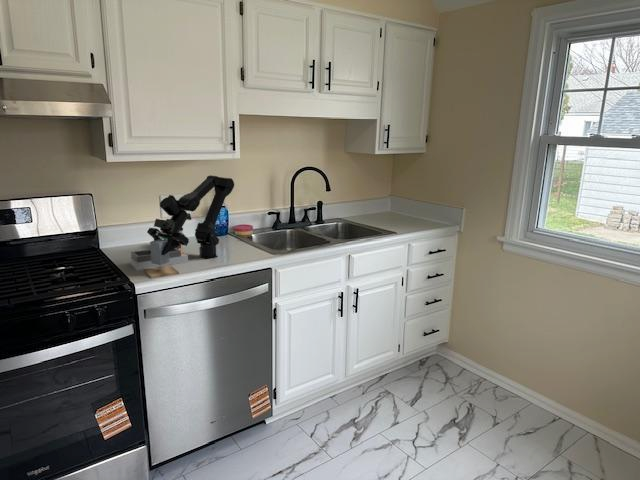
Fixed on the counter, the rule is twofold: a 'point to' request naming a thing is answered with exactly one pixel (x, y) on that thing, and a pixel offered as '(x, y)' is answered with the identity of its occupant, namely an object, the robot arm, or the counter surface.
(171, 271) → the walnut board
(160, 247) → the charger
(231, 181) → the robot arm
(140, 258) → the power strip
